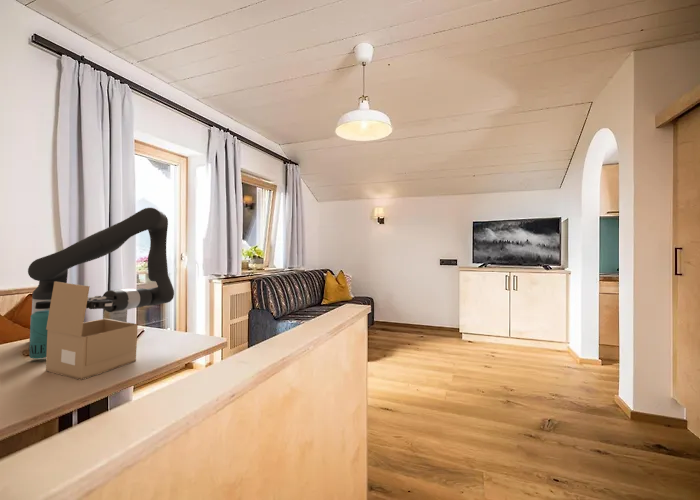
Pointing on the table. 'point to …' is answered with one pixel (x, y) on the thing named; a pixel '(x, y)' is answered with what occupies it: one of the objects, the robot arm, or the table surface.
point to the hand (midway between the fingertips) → (69, 305)
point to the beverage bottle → (39, 331)
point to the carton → (92, 349)
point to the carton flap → (67, 308)
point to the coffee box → (115, 315)
